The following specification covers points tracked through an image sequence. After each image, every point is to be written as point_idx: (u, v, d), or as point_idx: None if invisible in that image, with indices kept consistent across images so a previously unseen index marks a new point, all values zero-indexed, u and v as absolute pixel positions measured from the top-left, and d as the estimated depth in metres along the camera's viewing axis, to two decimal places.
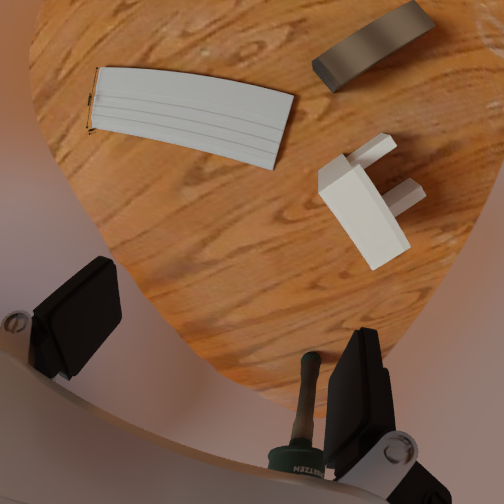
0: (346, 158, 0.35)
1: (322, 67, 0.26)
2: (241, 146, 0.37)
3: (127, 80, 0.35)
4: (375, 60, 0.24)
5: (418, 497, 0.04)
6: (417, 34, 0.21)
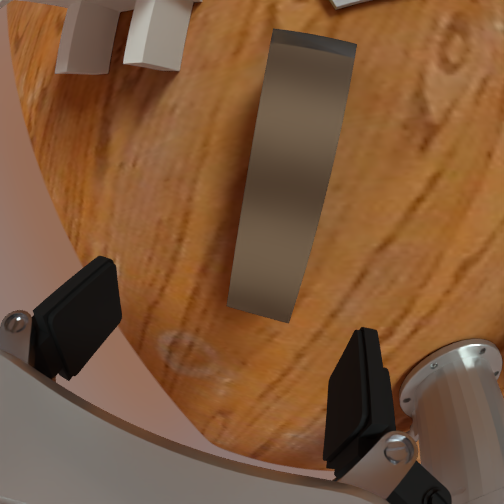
0: None
1: (329, 45, 0.11)
2: None
3: None
4: (256, 140, 0.14)
5: (418, 497, 0.04)
6: (236, 262, 0.17)
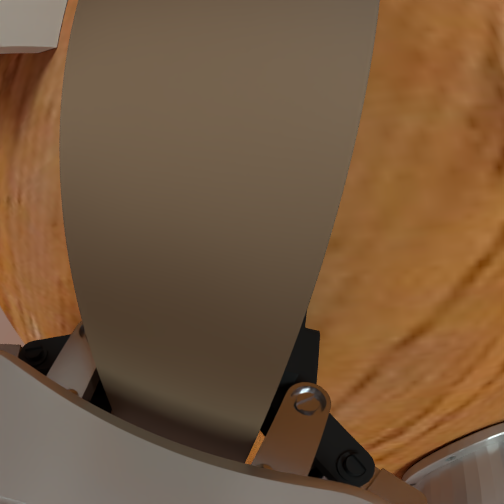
0: None
1: None
2: None
3: None
4: (66, 182, 0.04)
5: (330, 467, 0.05)
6: (120, 418, 0.07)
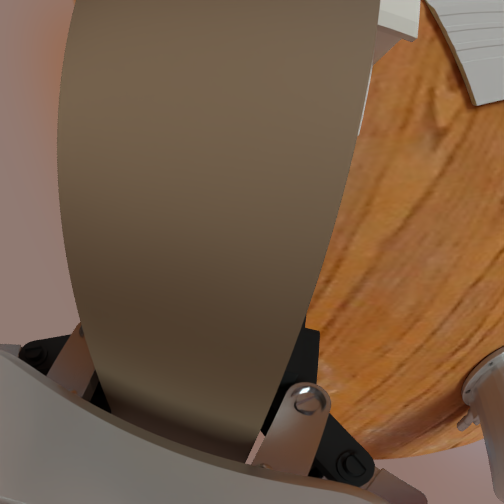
0: None
1: None
2: (476, 9, 0.12)
3: None
4: (64, 181, 0.04)
5: (329, 467, 0.05)
6: None
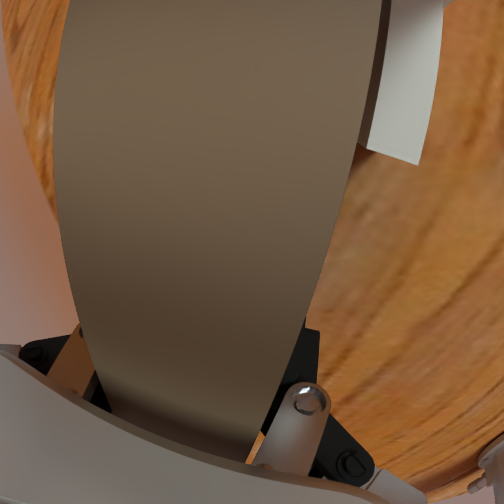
0: None
1: None
2: None
3: None
4: (61, 185, 0.04)
5: (330, 467, 0.05)
6: None
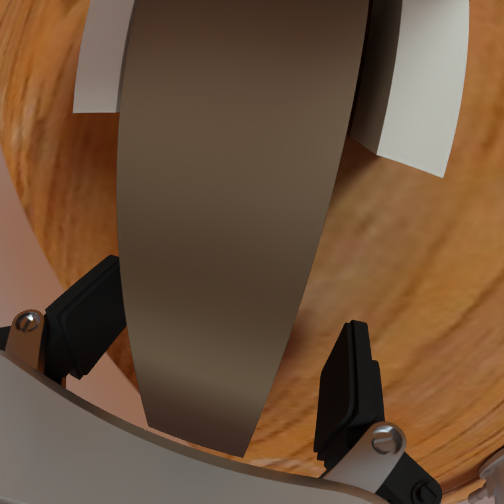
0: None
1: None
2: None
3: None
4: (122, 166, 0.05)
5: (406, 491, 0.04)
6: (142, 385, 0.08)
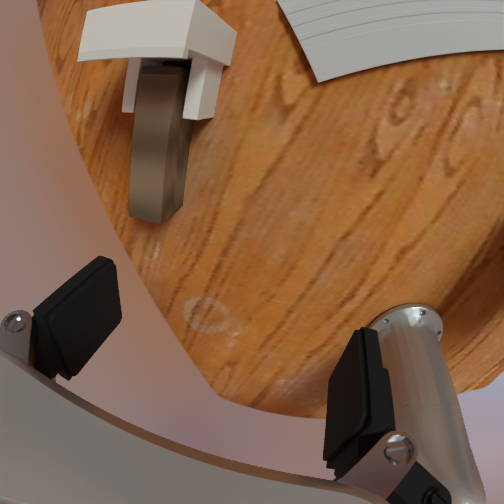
0: (220, 64, 0.25)
1: (166, 70, 0.22)
2: (327, 0, 0.20)
3: (498, 33, 0.16)
4: (135, 123, 0.25)
5: (418, 497, 0.04)
6: (130, 188, 0.28)
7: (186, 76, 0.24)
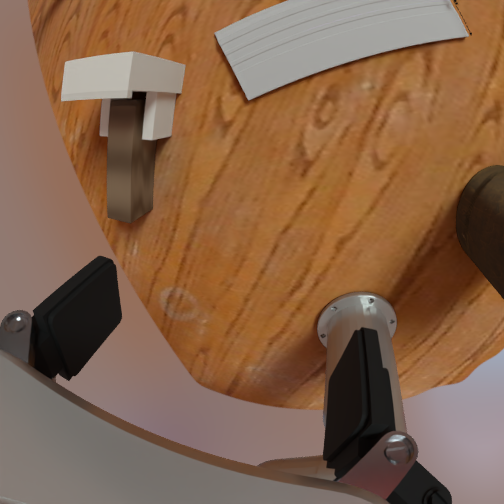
0: (172, 93, 0.32)
1: (127, 103, 0.29)
2: (254, 27, 0.27)
3: (424, 27, 0.22)
4: (108, 145, 0.32)
5: (418, 497, 0.04)
6: (108, 195, 0.35)
7: (144, 106, 0.31)
